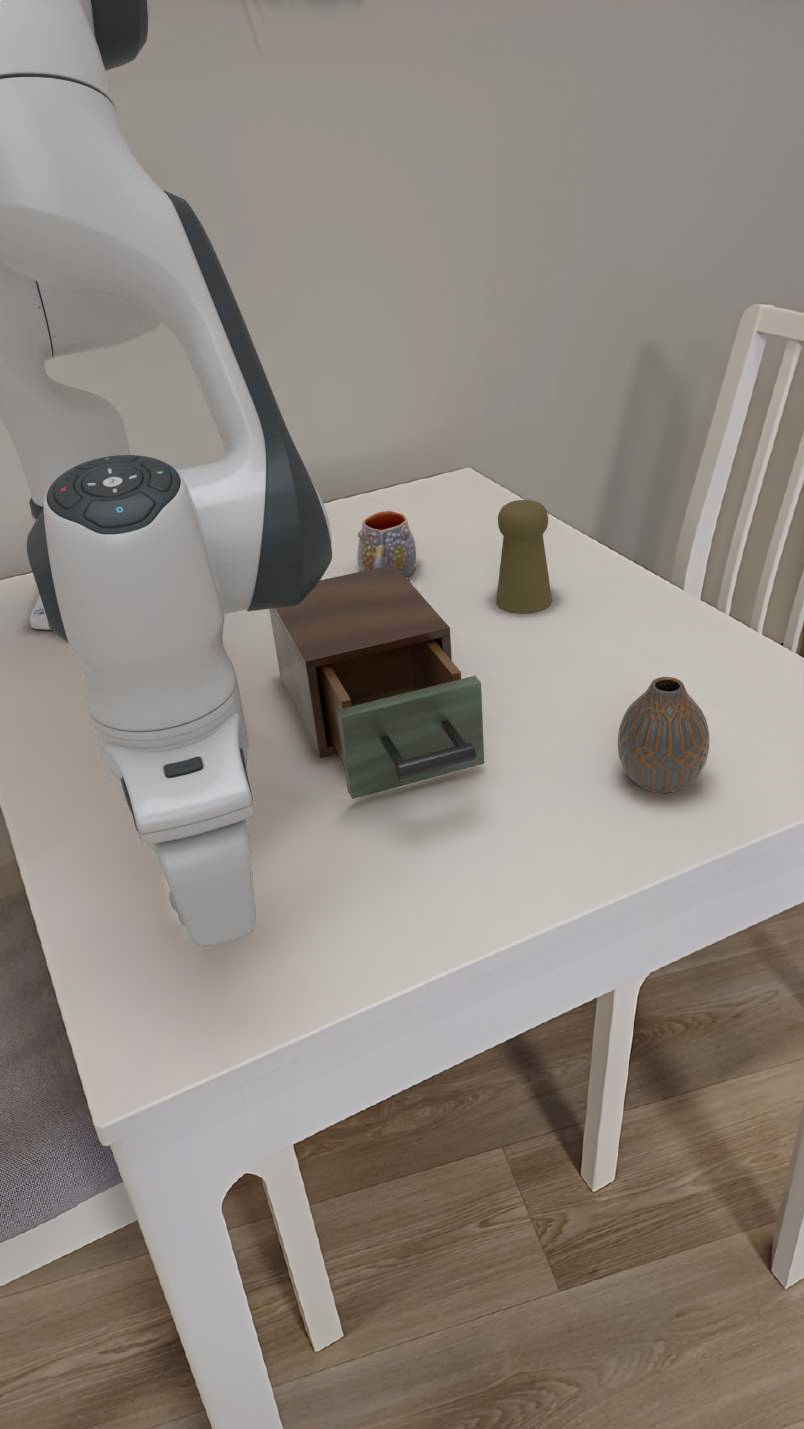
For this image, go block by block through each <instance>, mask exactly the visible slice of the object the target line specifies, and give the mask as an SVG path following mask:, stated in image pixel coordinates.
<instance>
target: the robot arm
mask: <svg viewBox="0 0 804 1429" xmlns="http://www.w3.org/2000/svg"><path fill="white" fill-rule="evenodd" d="M151 10H152V0H0V421H1V422H2V424H3V426H4V428H5V429H6V431H7V433H8V435H9V437H10V439H11V442H12V444H13V447H14V449H15V451H16V454H17V456H18V460H19V463H20V465H21V467H22V470H23V474H24V477H25V480H26V483H27V486H28V489H29V493H30V496H31V497H30V499H29V501H28V503H29V508H30V517H31V520H32V522H33V525H32V527H31V528H30V530H29V532H28V534H27V537H26V553H27V558H28V563H29V566H30V569H31V571H32V575H33V579H34V581H35V584H36V587H37V590H38V591H37V592H38V597H37V599H36V602H35V604H34V606H33V609H32V611H31V614H30V616H29V623H30V628H32V629H34V630H35V629H36V630H46V631H47V630H48V631H49V630H50V631H52V632H54V633H55V635H57V636H58V637H60V638H61V639H62V640H64V642H66V643H67V644H68V645H69V648H70V650H71V652H72V653H73V655H74V657H75V658H76V659H77V660H78V661H79V663H80V665H81V667H82V669H83V671H84V675H85V682H86V686H85V702H86V708H87V710H88V714H89V717H90V721H91V723H92V724H91V725H92V728H93V731H94V734H95V739H96V741H97V745H98V748H99V752H100V755H101V758H102V762H103V766H104V768H105V772H106V774H107V777H108V778H109V779H110V780H111V782H112V783H113V784H114V785H115V787H116V788H117V790H118V791H119V793H120V794H121V796H122V797H123V799H124V800H125V802H126V804H127V806H128V808H129V811H130V813H131V816H132V819H133V822H134V826H135V830H136V832H138V836H139V840H140V842H141V844H143V845H144V846H150V845H152V847H153V849H154V853H155V855H156V858H157V861H158V863H159V865H160V868H161V871H162V872H163V876H164V878H165V880H166V883H167V885H168V888H169V892H170V891H171V893H172V896H173V898H174V901H175V903H176V905H177V908H178V910H179V913H180V915H181V918H182V920H183V922H184V925H185V927H184V928H185V930H186V931H187V934H188V935H189V938H190V939H191V940H192V942H193V943H194V944H195V945H196V946H197V947H200V948H209V947H213V946H218V945H221V944H226V943H228V942H231V941H235V940H238V939H240V938H244V937H246V936H248V935H250V934H251V933H252V932H253V930H254V929H255V926H256V920H257V909H256V898H255V888H254V887H255V886H254V874H253V875H252V872H253V867H252V858H251V849H250V840H249V834H248V828H247V822H246V820H248V819H250V818H253V816H254V815H255V806H254V802H253V801H254V799H253V793H252V789H251V783H250V780H249V779H250V778H249V776H248V771H247V767H248V766H247V765H248V749H249V741H250V740H249V733H248V728H247V724H246V719H245V714H244V708H243V702H242V699H241V692H240V687H239V681H238V677H237V676H238V675H237V672H236V669H235V666H234V664H233V661H232V660H231V658H230V656H229V655H228V652H227V651H226V649H225V644H224V640H223V638H224V637H223V633H224V626H225V625H224V624H225V615H227V614H232V613H237V612H241V611H245V610H246V611H247V612H255V611H264V610H269V609H272V608H281V607H289V606H297V605H298V604H299V603H300V602H301V601H302V600H303V599H304V598H305V597H306V596H307V595H308V594H309V593H310V592H311V591H312V590H313V589H314V587H315V586H316V585H317V583H318V582H319V581H320V580H322V578H323V576H324V575H325V573H326V572H327V571H328V568H329V566H330V565H331V562H332V560H333V547H332V546H333V545H332V529H331V524H330V520H329V516H328V513H327V509H326V507H325V503H324V502H323V500H322V497H321V495H320V493H319V491H318V489H317V487H316V485H315V484H314V482H313V480H312V478H311V476H310V474H309V472H308V469H307V468H306V466H305V463H304V461H303V459H302V457H301V455H300V453H299V451H298V449H297V447H296V445H295V443H294V441H293V438H292V435H291V434H290V431H289V429H288V427H287V425H286V422H285V419H284V417H283V415H282V412H281V409H280V407H279V405H278V402H277V399H276V397H275V394H274V392H273V390H272V387H271V385H270V381H269V380H268V377H267V375H266V371H265V370H264V367H263V365H262V364H263V363H262V362H261V360H260V359H261V358H260V356H259V354H258V351H257V350H256V347H255V344H254V342H253V339H252V337H251V333H250V332H249V329H248V326H247V324H246V322H245V319H244V317H243V314H242V312H241V309H240V307H239V305H238V302H237V300H236V297H235V295H234V294H235V293H234V292H233V290H232V287H231V285H230V283H229V280H228V278H227V276H226V273H225V271H224V269H223V267H222V264H221V261H220V259H219V257H218V255H217V253H216V250H215V248H214V245H213V244H212V242H211V240H210V237H209V235H208V234H207V232H206V230H205V228H204V226H203V224H202V222H201V221H200V218H198V215H197V214H196V212H195V211H194V209H193V208H192V206H191V205H190V204H189V203H188V201H187V200H186V199H184V198H183V197H180V196H178V195H175V194H174V193H171V192H169V191H167V190H163V189H162V188H161V187H160V186H159V185H158V184H157V183H156V182H155V181H154V180H153V178H151V177H150V175H149V174H148V173H147V171H146V170H145V169H144V168H143V167H142V165H141V163H139V161H138V159H137V158H136V156H135V155H134V153H133V152H132V150H131V148H130V147H129V145H128V142H127V141H126V138H125V135H124V133H123V130H122V128H121V125H120V122H119V121H120V120H119V117H118V113H117V110H116V106H115V101H114V98H113V94H112V89H111V86H110V82H109V78H108V75H107V71H110V70H113V69H116V68H119V67H123V66H124V65H126V64H127V65H128V64H129V63H131V62H133V61H135V60H136V58H137V56H138V55H139V54H140V53H141V51H142V50H143V47H144V46H145V44H146V43H147V40H148V34H149V22H150V16H151ZM162 325H164V326H165V327H166V328H167V329H169V330H170V331H171V332H172V334H173V335H174V336H175V337H176V338H177V340H178V342H179V343H180V345H182V348H183V349H184V352H185V354H186V357H187V359H188V361H189V364H190V366H191V369H192V371H193V373H194V376H195V379H196V381H197V383H198V385H199V388H200V390H201V393H202V395H203V398H204V400H205V402H206V405H207V408H208V410H209V412H210V416H211V417H212V419H213V420H212V421H213V422H214V426H215V427H216V429H217V432H218V434H219V437H220V439H221V443H222V444H223V447H224V452H223V455H222V456H221V457H220V458H219V459H217V460H215V461H212V462H209V463H204V464H198V465H193V466H192V465H191V466H187V467H186V466H185V467H181V468H175V467H174V466H173V465H171V464H169V463H167V462H166V461H163V460H160V459H158V458H155V457H151V456H145V455H137V454H132V452H131V449H130V444H129V440H128V435H127V432H126V428H125V422H124V419H123V417H122V414H121V413H120V412H119V410H118V409H117V408H116V407H115V406H114V404H112V403H111V402H110V401H109V400H107V399H106V398H104V397H103V396H100V395H98V394H95V393H93V392H90V391H87V390H84V389H80V388H77V387H73V386H69V385H66V384H64V383H60V382H58V381H56V380H54V379H53V378H52V377H50V376H49V375H48V373H47V370H46V368H45V365H46V364H45V363H46V362H47V361H49V360H52V359H53V358H57V357H58V358H59V357H65V356H70V355H75V354H83V353H88V352H94V351H101V350H107V349H112V348H118V347H120V346H123V345H126V344H128V343H130V342H133V341H136V340H139V339H141V338H143V337H146V336H147V335H150V334H154V333H156V332H157V331H158V330H159V329H160V328H161V326H162Z"/></svg>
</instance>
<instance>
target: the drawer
mask: <svg viewBox="0 0 804 1429" xmlns="http://www.w3.org/2000/svg"><path fill="white" fill-rule="evenodd" d="M316 672H317V679H318V686H319V693H320V700H321V707H322V714H323V721H324V727H325V729H326V731H327V733H328V735H329V737H330V739H331V741H332V742H333V744H334V746H335V748H336V750H337V752H338V753H337V754H338V756H339V758H340V759H341V761H342V764H343V765H344V766H343V767H344V771H345V772H344V773H345V780H346V787H347V788H346V789H347V792H348V794H349V796H350V798H351V800H356V799H359V798H363V797H367V796H369V795H373V794H377V793H381V792H385V791H388V790H392V789H395V788H400V787H403V786H407V785H410V784H411V785H412V784H414V783H418V782H421V781H425V780H428V779H434V778H436V777H440V776H444V775H447V774H451V773H455V772H458V771H462V770H466V769H470V768H474V767H477V766H480V765H484V764H485V745H484V721H483V696H482V682H481V680H480V679H479V678H478V677H477V676H476V675H472V676H468V677H465V678H462V672H461V670H460V669H459V668H458V667H457V665H456V664H455V663H454V662H453V660H452V661H451V660H450V658H449V657H448V656H447V655H446V654H445V652H444V651H443V650H442V649H441V648H440V646H439V645H438V644H437V643H436V642H435V640H434V639H433V640H429V641H425V642H421V643H416V644H412V645H408V646H404V647H399V648H395V649H391V650H387V651H382V652H378V653H374V654H370V655H365V656H361V657H357V658H353V659H348V660H344V661H340V662H336V663H331V664H327V665H323V666H319V667H316Z"/></svg>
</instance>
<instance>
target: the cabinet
mask: <svg viewBox="0 0 804 1429" xmlns="http://www.w3.org/2000/svg"><path fill="white" fill-rule="evenodd" d="M268 610H269V616H270V622H271V628H272V634H273V640H274V646H275V647H274V648H275V652H276V659H277V664H278V669H279V670H278V671H279V676H280V681H281V684H282V685H283V687H284V689H285V692H286V694H287V695H288V697H289V699H290V702H291V704H292V705H293V708H294V709H295V711H296V714H297V715H298V717H299V719H300V721H301V724H302V725H303V727H304V729H305V731H306V734H307V735H308V737H309V740H310V741H311V744H312V745H313V747H314V750H315V751H316V753H317V756H318V757H319V758H320V759H321V758H324V757H325V758H326V757H328V756H333V755H336V754H338V752H337V750H336V748H335V746H334V744H333V742H332V741H331V739H330V737H329V735H328V733H327V731H326V729H325V727H324V721H323V714H322V707H321V700H320V693H319V686H318V679H317V672H316V667H319V666H323V665H327V664H331V663H336V662H340V661H344V660H348V659H353V658H357V657H361V656H365V655H370V654H374V653H378V652H382V651H387V650H391V649H395V648H399V647H404V646H408V645H412V644H416V643H421V642H425V641H429V640H433V639H434V640H435V642H436V643H437V644H438V645H439V646H440V648H441V649H442V650H443V651H444V652H445V654H446V655H447V656H448V657H449V658H450V660H451V661H452V662H453V658H452V655H453V654H452V641H451V639H452V638H451V627H450V625H448V624H447V622H446V621H445V620H444V619H443V618H442V617H441V616H440V614H439V613H438V612H437V611H436V610H435V609H434V607H433V606H431V604H430V603H429V602H428V601H427V600H426V599H425V597H424V596H423V595H422V594H421V592H419V590H418V589H417V588H416V587H415V586H414V585H413V584H412V583H411V582H410V580H409V579H408V577H405V576H404V575H403V574H402V573H401V572H400V570H399V569H398V568H397V567H396V566H395V565H389V566H385V567H380V568H375V569H371V570H366V571H358V572H353V573H348V574H343V575H339V576H334V577H329V578H324V579H320V581H319V582H318V583H317V585H316V586H315V587H314V589H313V590H312V591H311V592H310V593H309V594H308V595H307V596H306V597H305V598H304V599H303V600H302V601H301V602H300V603H299V604H298V605H297V606H289V607H281V608H272V609H268Z"/></svg>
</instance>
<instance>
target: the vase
mask: <svg viewBox="0 0 804 1429" xmlns="http://www.w3.org/2000/svg"><path fill="white" fill-rule="evenodd" d="M710 742H711V741H710V729H709V726H708V722H707V719H706V716H705V713H704V712H703V710H702V709H701V707H700V706H699V705H698V703H696V701H695V700H694V699H693V698H692V696H690V694H689V693H688V691H687V689H686V687H685V684H684V682H682V681H681V680H680V679H678V678H677V677H672V676H661V677H657V678H654V680H652V681H651V682H650V685H649V686H648V687H647V689H646V690H645V691H644V692H643V693H642V694H641V695H639V696H638V697H637V698H636V699H635V700H634V701H633V702H632V703H631V704H630V705H629V707H628V708H627V709H626V711H625V713H624V714H623V717H622V719H621V721H620V725H619V728H618V732H617V752H618V757H619V761H620V763H621V767H622V768H623V770H624V772H625V774H626V775H627V776H628V778H629V779H630V780H631V781H632V782H634V784H636V785H637V786H639V788H640V787H641V788H642V789H644V790H645V791H649V792H652V793H657V794H670V793H674V792H677V791H680V790H682V789H684V788H685V787H688V786H689V785H690V784H692V783H693V782H695V780H696V779H698V777H699V775H700V774H701V773H702V771H703V769H704V768H705V766H706V762H707V760H708V755H709V751H710Z"/></svg>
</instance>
